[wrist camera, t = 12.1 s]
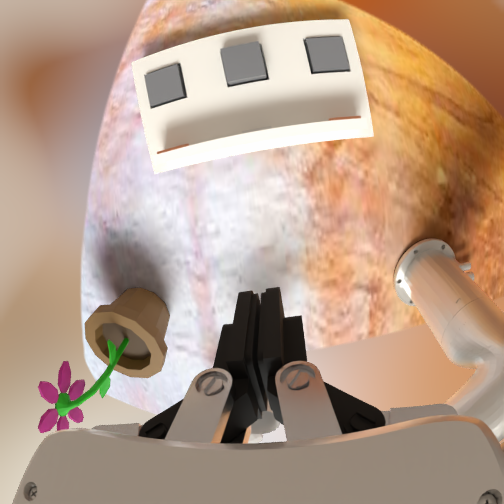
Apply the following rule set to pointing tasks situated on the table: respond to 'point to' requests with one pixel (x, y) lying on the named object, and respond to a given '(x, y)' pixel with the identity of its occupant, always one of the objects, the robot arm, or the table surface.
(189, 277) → the table surface
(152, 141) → the button board
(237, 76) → the button middle
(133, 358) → the flowerpot
